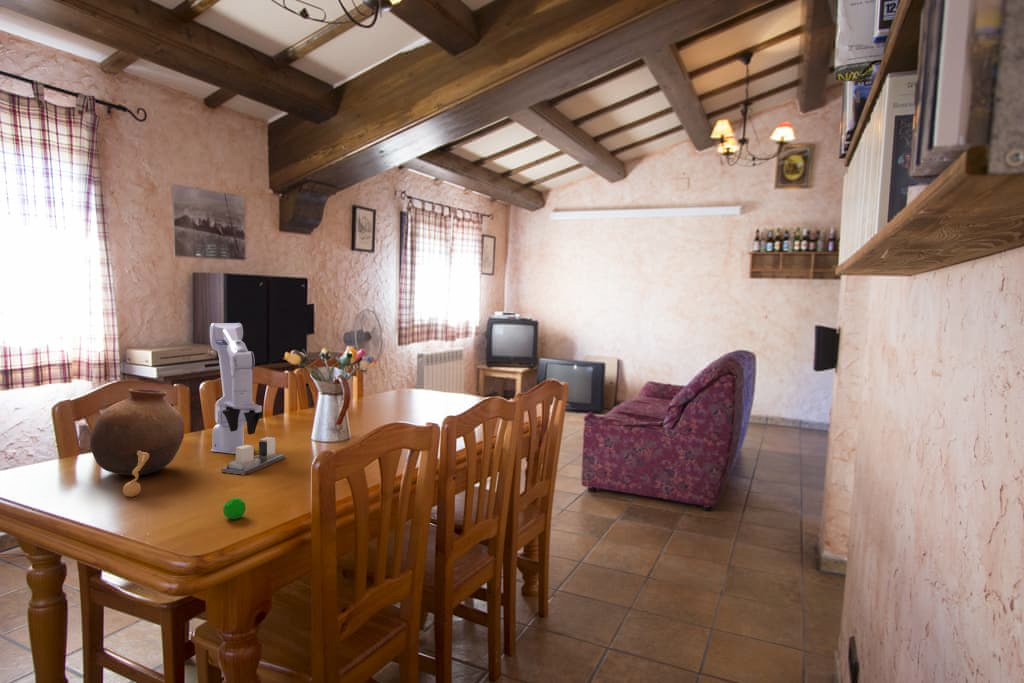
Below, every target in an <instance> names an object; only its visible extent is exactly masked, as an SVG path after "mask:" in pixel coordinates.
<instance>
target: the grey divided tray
mask: <svg viewBox="0 0 1024 683" xmlns="http://www.w3.org/2000/svg"><path fill="white" fill-rule="evenodd" d="M283 458H284V459H286V454H282V453H281V454H280V453H276V437H272V436H265V437H262V438H260V439H259V440H258V454H257V455H254V461H252V462H249V463H246V464H236V459H235V460H233V461H230V462H227V463H226V467H223V468H221V470H220V472H226V473H225V474H229V473H233V474H232V475H237V474H241V475H240V476H246V475H248V474H247V473H249V474H251V473H253V472H255V470H256V471H258V470H260V469H263V468H265V467H267V465H268V466H269V464H270V465H272V464H275V463H277V462H279V461H281V459H282V460H283ZM276 461H277V462H276ZM274 462H275V463H274ZM271 463H272V464H271ZM264 466H265V467H264ZM262 467H263V468H262ZM259 468H260V469H259ZM257 469H258V470H257ZM252 471H253V472H252ZM250 472H251V473H250ZM245 474H246V475H245Z"/></svg>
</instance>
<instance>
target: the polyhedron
mask: <svg viewBox="0 0 1024 683" xmlns="http://www.w3.org/2000/svg"><path fill="white" fill-rule="evenodd" d="M245 502H246V501H244V499H242V498H239V497H233V498H230V499H228V500H227V501H226V502H225V503H224V506H223V508H222V509H223V510H222V511H223V514H224V517H226V519H229V520H238V519H239V518H241V517H243V516H244V515H245V513H246V510H247V508H246V503H245ZM237 518H238V519H237Z"/></svg>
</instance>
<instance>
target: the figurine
mask: <svg viewBox="0 0 1024 683" xmlns="http://www.w3.org/2000/svg"><path fill="white" fill-rule="evenodd" d="M137 455H138V456H139V457H138V463H137V465H138V466H137V467H136V468H135V469H134V470H133V472H132V474H133V475H134V477H135V478H134V479H131V481H128V482H126V483H125V484H124V485H123V488H122V493H123V494H124V495H125V496H126V497H129V498H132V497H133V498H134V497H136V496H138V495H139V494H140V492H141V489H142V488H141V484H140V483H139V482H137V480H138V479H139V476H140V475H139V473H137V472H138V471H140V469H141V468H142V467H143V466H144V464H145V462H146V461H147V460H148V458H149V453H146V452H141V451H138V452H137Z"/></svg>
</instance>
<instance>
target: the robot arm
mask: <svg viewBox="0 0 1024 683" xmlns="http://www.w3.org/2000/svg"><path fill="white" fill-rule="evenodd" d="M243 337H244V328H243V324H242V323H240V322H235V323H234V322H232V323H231V322H228V323H226V322H225V323H223V322H221V323H219V322H217V323H216V322H212V323H211V324H210V325H209V342H210V346H211V349H212V350H213V351H216V352H217V356H218V360H219V370H220V371H219V372H220V380H221V381H220V382H221V388H222V397H220V398H219V399H218V400H216V402H215V404H214V419H215V423H216V424H215V425H214V426H213V428H212V433H211V434H212V435H211V440H212V442H211V443H212V444H211V449H210V451H211V452H213V453H215V452H216V453H223V454H224V453H226V454H232V455H233V454H236V447H239V446H243V445H245V442H244V441H245V439H244V436H245V435H244V432H245V431H244V428H245V427H244V426H245V424H246V428H247V429H246V430H247V435H254V434H256V430H257V426H258V423H259V421H260V419H261V417H262V415H263V406H262V405H261V404H257V403H255V402H254V401H253V370H254V369H255V365H256V363H255V362H256V361H255V360H256V359H255V355H254V352H253V351H249V350H248V348H247V345H246V343H245V342H244V341H243Z"/></svg>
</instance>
